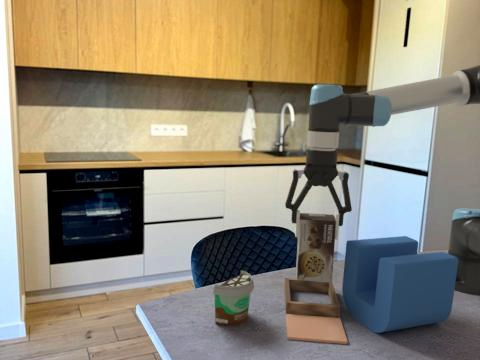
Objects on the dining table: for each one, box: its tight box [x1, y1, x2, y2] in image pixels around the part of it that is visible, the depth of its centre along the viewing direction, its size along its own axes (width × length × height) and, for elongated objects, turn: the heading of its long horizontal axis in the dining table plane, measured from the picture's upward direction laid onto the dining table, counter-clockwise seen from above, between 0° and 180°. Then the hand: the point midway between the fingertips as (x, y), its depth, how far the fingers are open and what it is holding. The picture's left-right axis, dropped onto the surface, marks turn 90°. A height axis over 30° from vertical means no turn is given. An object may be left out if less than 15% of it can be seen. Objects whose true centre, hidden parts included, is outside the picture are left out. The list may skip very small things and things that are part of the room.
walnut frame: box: [283, 277, 341, 319], centre depth 119 cm, size 13×16×3 cm
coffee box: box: [295, 212, 336, 282], centre depth 117 cm, size 9×6×16 cm
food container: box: [212, 269, 255, 327], centre depth 107 cm, size 12×6×10 cm, turn 148°
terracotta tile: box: [285, 313, 349, 345], centre depth 105 cm, size 13×11×1 cm
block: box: [342, 235, 458, 334], centre depth 111 cm, size 18×18×18 cm
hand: (315, 236), depth 117 cm, fingers closed on coffee box, 9 cm apart
